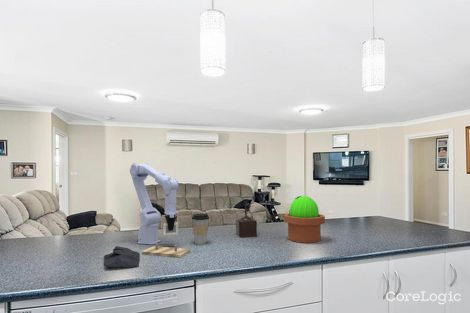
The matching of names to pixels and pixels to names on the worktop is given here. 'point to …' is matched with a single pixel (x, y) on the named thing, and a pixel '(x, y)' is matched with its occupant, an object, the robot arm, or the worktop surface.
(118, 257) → the dark slate chunk
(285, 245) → the worktop surface
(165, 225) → the white rectangular block
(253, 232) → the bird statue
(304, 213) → the potted cactus
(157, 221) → the robot arm
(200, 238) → the coffee cup
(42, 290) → the worktop surface
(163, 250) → the ledge
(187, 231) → the worktop surface
